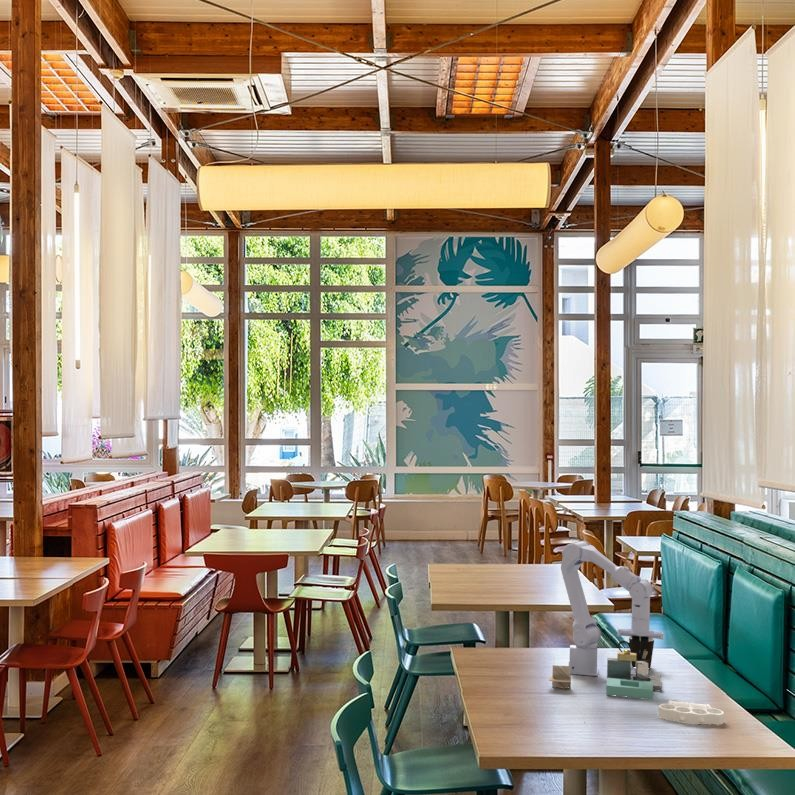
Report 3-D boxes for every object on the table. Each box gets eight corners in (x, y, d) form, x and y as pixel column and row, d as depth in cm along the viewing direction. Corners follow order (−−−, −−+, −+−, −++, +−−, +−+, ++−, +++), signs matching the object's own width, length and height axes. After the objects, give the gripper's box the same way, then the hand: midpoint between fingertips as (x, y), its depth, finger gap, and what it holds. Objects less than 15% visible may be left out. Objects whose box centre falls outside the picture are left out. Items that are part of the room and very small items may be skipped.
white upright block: (635, 685, 290) (635, 663, 290) (635, 682, 294) (635, 660, 294) (648, 686, 289) (648, 664, 289) (647, 683, 293) (648, 661, 293)
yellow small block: (617, 659, 293) (617, 650, 293) (617, 657, 295) (617, 648, 295) (636, 661, 291) (636, 652, 291) (636, 659, 293) (636, 650, 294)
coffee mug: (656, 666, 314) (657, 637, 314) (649, 671, 306) (650, 642, 307) (624, 660, 320) (624, 632, 320) (616, 666, 313) (617, 637, 313)
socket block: (606, 686, 288) (607, 663, 289) (607, 676, 300) (607, 654, 300) (661, 691, 284) (661, 668, 285) (659, 680, 296) (660, 658, 296)
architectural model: (571, 692, 282) (571, 669, 282) (549, 691, 283) (549, 667, 283) (570, 689, 286) (570, 666, 286) (548, 688, 286) (548, 665, 286)
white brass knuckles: (720, 714, 264) (726, 730, 250) (657, 708, 269) (659, 723, 255) (720, 703, 264) (726, 718, 250) (657, 697, 269) (659, 712, 255)
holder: (606, 695, 279) (606, 685, 279) (606, 687, 287) (607, 677, 288) (653, 699, 275) (653, 689, 275) (651, 691, 284) (652, 681, 284)
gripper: (617, 618, 290) (617, 660, 290) (664, 622, 287) (663, 664, 286) (617, 614, 297) (616, 655, 297) (663, 617, 294) (662, 659, 293)
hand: (639, 659), depth 292 cm, fingers closed
